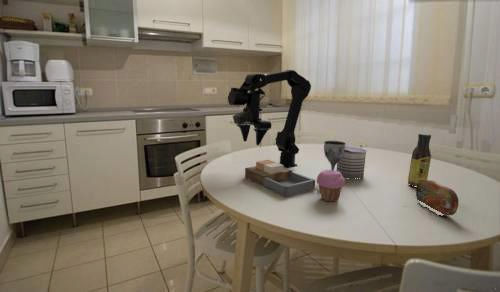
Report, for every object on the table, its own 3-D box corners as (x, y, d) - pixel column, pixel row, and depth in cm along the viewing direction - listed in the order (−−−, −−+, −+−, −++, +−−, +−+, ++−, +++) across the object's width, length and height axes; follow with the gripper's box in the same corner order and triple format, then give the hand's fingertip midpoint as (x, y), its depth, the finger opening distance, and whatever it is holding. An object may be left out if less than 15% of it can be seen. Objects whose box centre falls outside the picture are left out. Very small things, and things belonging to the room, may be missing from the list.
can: (340, 169, 131) (342, 143, 128) (367, 174, 124) (370, 146, 122) (331, 176, 121) (333, 147, 119) (359, 181, 115) (362, 151, 112)
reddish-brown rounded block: (413, 200, 97) (417, 176, 95) (422, 200, 97) (426, 176, 96) (447, 221, 83) (452, 193, 81) (457, 221, 83) (463, 192, 81)
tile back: (267, 165, 120) (268, 159, 120) (274, 168, 117) (275, 162, 116) (256, 167, 117) (256, 161, 116) (262, 170, 113) (263, 164, 113)
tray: (291, 180, 115) (292, 171, 114) (314, 189, 105) (315, 180, 105) (263, 186, 107) (263, 177, 106) (285, 197, 98) (285, 187, 97)
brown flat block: (272, 172, 125) (272, 163, 124) (291, 180, 115) (292, 170, 114) (245, 177, 117) (245, 168, 116) (263, 186, 107) (263, 176, 106)
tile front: (275, 168, 116) (275, 162, 116) (283, 171, 113) (283, 165, 112) (263, 170, 113) (263, 164, 112) (271, 173, 109) (271, 167, 109)
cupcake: (348, 203, 94) (351, 173, 92) (324, 206, 91) (326, 175, 89) (333, 193, 102) (335, 165, 100) (310, 195, 100) (312, 167, 97)
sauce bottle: (419, 189, 107) (427, 136, 103) (403, 184, 113) (410, 133, 108) (430, 187, 110) (438, 134, 106) (414, 182, 116) (421, 132, 111)
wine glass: (342, 178, 119) (345, 141, 116) (342, 184, 112) (345, 145, 108) (322, 175, 121) (325, 140, 118) (320, 181, 114) (323, 143, 111)
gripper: (224, 103, 123) (223, 140, 126) (249, 107, 108) (247, 149, 111) (246, 104, 129) (244, 139, 132) (273, 107, 114) (270, 146, 117)
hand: (251, 143), depth 123 cm, fingers open, 9 cm apart
